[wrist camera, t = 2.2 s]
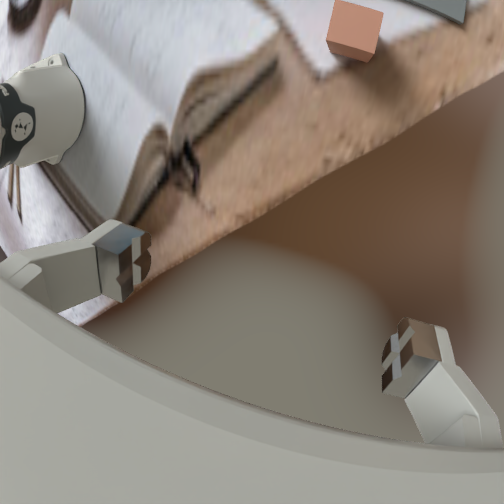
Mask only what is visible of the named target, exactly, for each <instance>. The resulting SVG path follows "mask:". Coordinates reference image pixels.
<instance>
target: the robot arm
mask: <svg viewBox="0 0 504 504" xmlns="http://www.w3.org/2000/svg"><path fill="white" fill-rule="evenodd" d="M83 119H84V96H83V91H82V88H81V85H80V82H79V80H78V78H77V77H76V75H75V74H74V73H73V72H72V71H71V70H70V68H69V67H68V65H67V62H66V59H65V56H64V55H63V53H58V54H54V55H52V56H50V57H47V58H45V59H43V60H41V61H39V62H36V63H34V64H32V65H30V66H28V67H26V68H24V69H22V70H20V71H18V72H16V73H15V74H14V75H13V76H12V77H11V78H9V79H8V80H6V81H5V82H3V83H1V84H0V169H2V168H4V167H6V166H7V165H9V164H11V163H14V164H15V165H17V166H19V167H20V168H22V167H26V166H29V165H32V164H35V163H38V162H41V161H44V160H45V161H47V162H48V163H50V164H52V165H54V164H58V163H59V162H60V160H61V158H62V156H63V154H64V152H65V151H66V150H67V149H68V148H69V147H71V146H72V145H73V144H74V142H75V141H76V139H77V138H78V136H79V133H80V131H81V128H82V124H83ZM150 246H151V235H150V233H149V232H146V231H144V230H141V229H138V228H136V227H133V226H130V225H128V224H125V223H122V222H119V221H116V220H114V219H109V220H107V221H106V222H104V223H103V224H102V225H100V226H99V227H97V228H96V229H94V230H93V231H91V232H90V233H89V234H87V235H86V236H84V237H83V238H81V239H77V238H76V239H71V240H66V241H61V242H57V243H52V244H48V245H43V246H39V247H34V248H30V249H26V250H21V251H17V252H15V253H14V254H12V255H11V256H9V257H8V258H7V259H5V260H4V261H3V262H1V263H0V504H504V448H503V444H502V438H501V432H500V426H499V421H498V417H497V416H496V414H495V413H494V411H493V410H492V409H491V407H490V406H489V405H488V403H487V402H486V401H485V399H484V398H483V397H482V395H481V394H480V393H479V391H478V390H477V388H476V387H475V386H474V385H473V383H472V382H471V381H470V379H469V378H468V377H467V376H466V374H465V373H464V372H463V371H462V369H461V368H460V367H459V366H456V364H455V360H454V356H453V351H452V347H451V344H450V340H449V336H448V332H447V330H446V329H445V328H443V327H439V326H435V325H430V324H427V323H424V322H420V321H417V320H413V319H410V318H407V317H404V318H403V319H402V320H401V321H400V323H399V324H398V326H397V329H398V333H396V334H394V335H392V336H390V338H389V340H388V341H387V343H386V345H385V347H384V350H383V354H382V366H383V367H384V369H385V370H386V371H385V372H384V374H383V375H382V393H385V394H389V395H393V396H397V397H401V398H405V402H406V404H407V406H408V408H409V410H410V412H411V414H412V416H413V418H414V420H415V422H416V424H417V427H418V429H419V431H420V433H421V435H422V437H423V439H424V442H425V443H418V442H410V441H403V440H396V439H390V438H383V437H378V436H373V435H367V434H362V433H357V432H352V431H348V430H343V429H339V428H334V427H330V426H326V425H322V424H318V423H314V422H310V421H307V420H303V419H299V418H296V417H292V416H289V415H285V414H281V413H278V412H275V411H272V410H268V409H265V408H262V407H259V406H256V405H253V404H250V403H247V402H244V401H241V400H238V399H236V398H233V397H230V396H227V395H224V394H222V393H219V392H216V391H214V390H211V389H209V388H206V387H204V386H201V385H198V384H196V383H194V382H191V381H189V380H186V379H184V378H181V377H179V376H177V375H174V374H172V373H170V372H168V371H165V370H163V369H161V368H158V367H157V366H154V365H152V364H150V363H148V362H146V361H144V360H142V359H139V358H137V357H135V356H133V355H131V354H129V353H127V352H125V351H123V350H121V349H119V348H117V347H115V346H113V345H111V344H110V343H108V342H106V341H104V340H102V339H100V338H98V337H97V336H95V335H93V334H91V333H89V332H88V331H86V330H84V329H82V328H81V327H79V326H77V325H75V324H74V323H72V322H70V321H69V320H67V319H65V318H64V317H62V316H60V315H59V314H57V313H59V312H62V311H64V310H66V309H69V308H71V307H74V306H76V305H78V304H81V303H83V302H85V301H88V300H90V299H93V298H95V297H97V296H100V295H101V294H103V295H105V296H107V297H110V298H112V299H114V300H116V301H119V302H121V303H123V302H124V301H125V300H126V298H127V297H128V296H129V295H130V294H131V293H132V292H133V291H134V289H133V285H136V284H139V283H141V282H142V281H143V280H144V279H145V278H146V276H147V274H148V272H149V270H150V266H151V255H150V253H149V252H148V250H147V249H148V248H149V247H150Z"/></svg>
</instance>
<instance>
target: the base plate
mask: <svg viewBox="0 0 504 504" xmlns="http://www.w3.org/2000/svg"><path fill="white" fill-rule="evenodd" d="M405 1H408V2H410V3H413V4H415V5H418V6H420V7H423V8H425V9H428V10H430V11H432V12H435V13H437V14H439V15H441V16H444V17H446V18H448V19H450V20H452V21H454V22H456V23H458V24H462V23H463V21H464V15H465V8H466V1H467V0H405Z"/></svg>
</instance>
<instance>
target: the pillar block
mask: <svg viewBox="0 0 504 504" xmlns="http://www.w3.org/2000/svg"><path fill="white" fill-rule="evenodd" d="M382 18H383V12H380V11H376V10H373V9H370V8H367V7H363V6H360V5H356V4H352V3H348V2H345V1H341V0H335V3H334V7H333V12H332V16H331V20H330V25H329V29H328V33H327V38H326V41H327V44H328V47H329V50H330V52H332V53H335V54H339V55H343V56H346V57H350V58H353V59H356V60H360V61H363V62H366V63H368V61H369V60H370V59H371V58H372V56H373V55H374V54H375V49H376V45H377V41H378V36H379V32H380V27H381V23H382Z"/></svg>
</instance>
